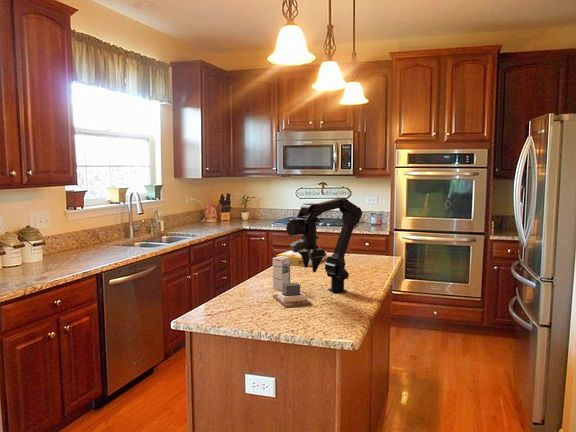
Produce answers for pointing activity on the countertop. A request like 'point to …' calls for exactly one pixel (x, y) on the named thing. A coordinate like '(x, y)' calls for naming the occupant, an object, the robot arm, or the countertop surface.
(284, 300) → the socket board
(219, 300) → the countertop surface
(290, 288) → the plug block
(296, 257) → the cereal box
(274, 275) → the syrup box
